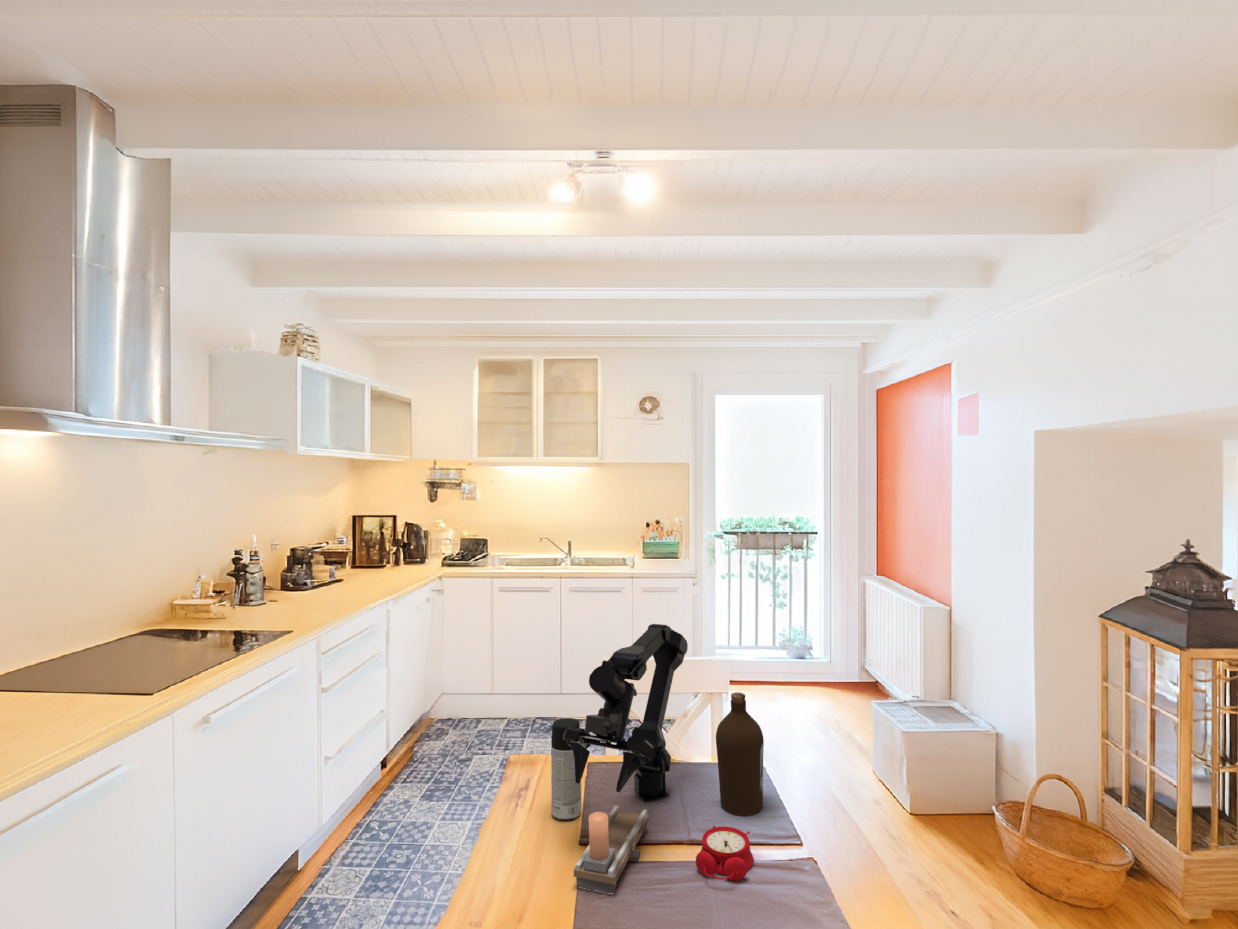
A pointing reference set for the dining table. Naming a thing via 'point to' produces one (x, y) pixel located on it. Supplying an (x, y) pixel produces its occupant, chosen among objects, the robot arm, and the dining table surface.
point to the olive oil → (740, 760)
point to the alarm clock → (725, 853)
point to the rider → (599, 844)
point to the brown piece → (622, 839)
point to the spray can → (564, 773)
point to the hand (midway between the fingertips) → (597, 787)
